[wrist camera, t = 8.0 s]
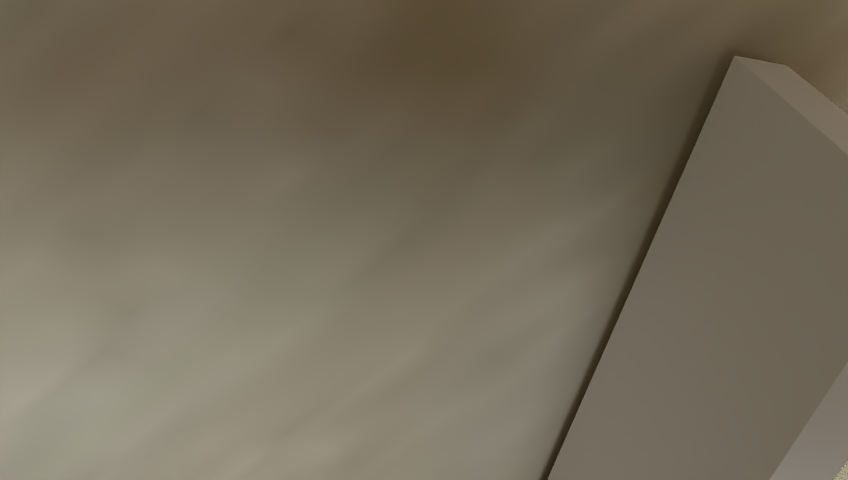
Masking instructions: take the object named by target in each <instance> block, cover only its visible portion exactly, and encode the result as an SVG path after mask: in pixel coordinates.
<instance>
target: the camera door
mask: <svg viewBox="0 0 848 480" xmlns="http://www.w3.org/2000/svg"><path fill="white" fill-rule="evenodd" d="M847 460H848V114H847V113H846V112H844V111H843V110H842V109H841V108H839V107H838V106H837V105H836V104H834V103H833V102H832V101H831V100H829V99H828V98H827V97H826V96H824V95H823V94H822V93H821V92H819V91H818V90H817V89H816V88H814V87H813V86H812V85H811V84H809V83H808V82H807V81H806V80H804V79H803V78H802V77H801V76H799V75H798V74H797V73H796V72H794V71H793V70H792V69H791V68H789V67H788V66H787V65H783V64H778V63H772V62H767V61H761V60H756V59H750V58H745V57H739V56H734V58H733V60H732V62H731V65H730V67H729V69H728V71H727V74H726V76H725V78H724V80H723V83H722V85H721V87H720V90H719V92H718V94H717V96H716V99H715V101H714V103H713V105H712V108H711V110H710V112H709V114H708V117H707V119H706V121H705V124H704V126H703V128H702V130H701V133H700V135H699V137H698V139H697V142H696V144H695V146H694V148H693V151H692V153H691V155H690V157H689V160H688V162H687V164H686V167H685V169H684V171H683V173H682V176H681V178H680V180H679V182H678V185H677V187H676V189H675V191H674V194H673V196H672V198H671V201H670V203H669V205H668V207H667V210H666V212H665V214H664V216H663V219H662V221H661V223H660V225H659V228H658V230H657V232H656V235H655V237H654V239H653V241H652V244H651V246H650V248H649V250H648V253H647V255H646V257H645V259H644V262H643V264H642V266H641V268H640V271H639V273H638V275H637V278H636V280H635V282H634V284H633V287H632V289H631V291H630V293H629V296H628V298H627V300H626V302H625V305H624V307H623V309H622V312H621V314H620V316H619V318H618V321H617V323H616V325H615V327H614V330H613V332H612V334H611V336H610V339H609V341H608V343H607V346H606V348H605V350H604V352H603V355H602V357H601V359H600V361H599V364H598V366H597V368H596V370H595V373H594V375H593V377H592V379H591V382H590V384H589V386H588V389H587V391H586V393H585V395H584V398H583V400H582V402H581V404H580V407H579V409H578V411H577V413H576V416H575V418H574V420H573V423H572V425H571V427H570V429H569V432H568V434H567V436H566V438H565V441H564V443H563V445H562V447H561V450H560V452H559V454H558V457H557V459H556V461H555V463H554V466H553V468H552V470H551V472H550V475H549V477H548V479H547V480H833V479H834V478H835V477H836V475H837V474H838V473H839V471H840V470H841V468H842V467H843V466H844V464H845V463H846V462H847Z"/></svg>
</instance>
